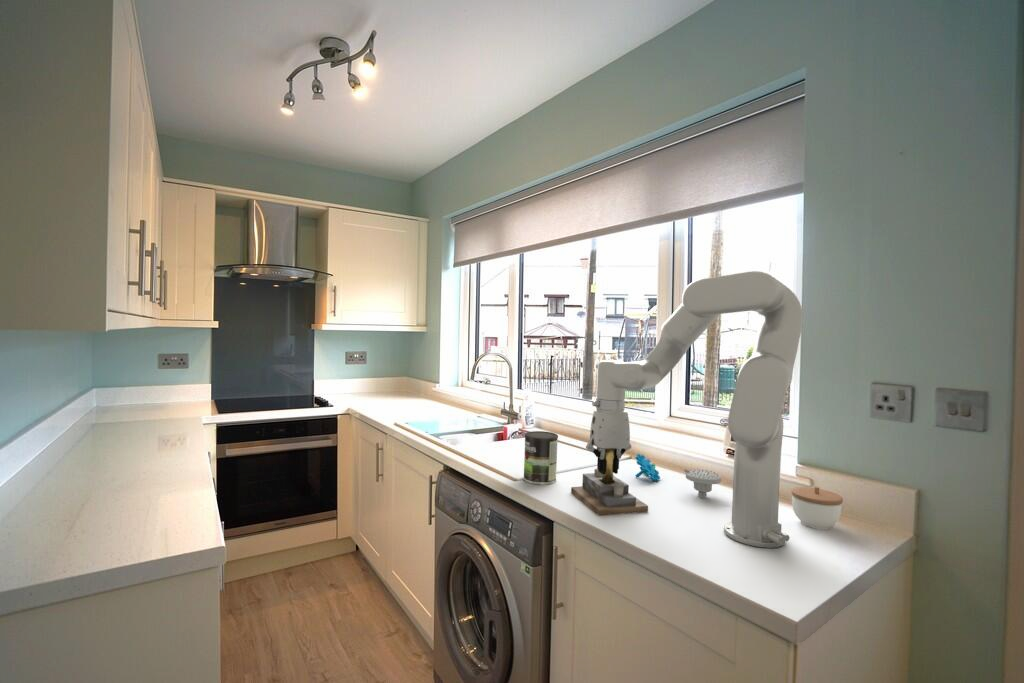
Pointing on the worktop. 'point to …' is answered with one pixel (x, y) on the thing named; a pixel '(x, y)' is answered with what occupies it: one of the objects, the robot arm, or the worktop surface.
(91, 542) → the worktop surface
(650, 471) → the gear
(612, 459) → the brass pin
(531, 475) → the coffee can
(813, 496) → the lidded jar
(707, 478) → the showerhead
